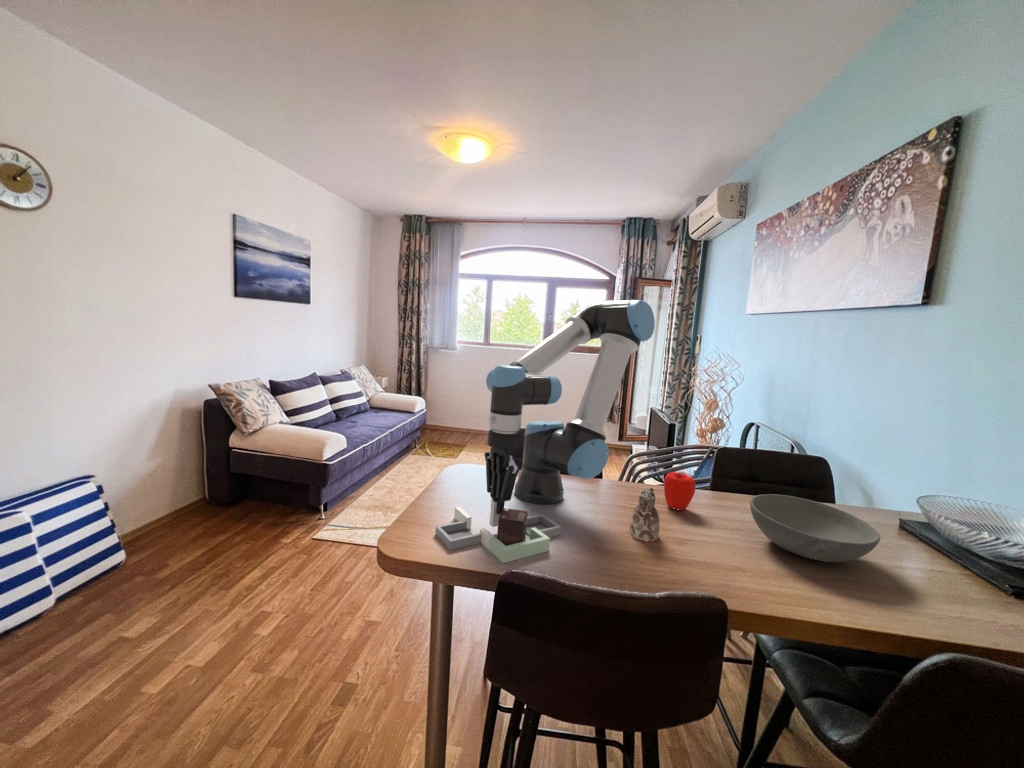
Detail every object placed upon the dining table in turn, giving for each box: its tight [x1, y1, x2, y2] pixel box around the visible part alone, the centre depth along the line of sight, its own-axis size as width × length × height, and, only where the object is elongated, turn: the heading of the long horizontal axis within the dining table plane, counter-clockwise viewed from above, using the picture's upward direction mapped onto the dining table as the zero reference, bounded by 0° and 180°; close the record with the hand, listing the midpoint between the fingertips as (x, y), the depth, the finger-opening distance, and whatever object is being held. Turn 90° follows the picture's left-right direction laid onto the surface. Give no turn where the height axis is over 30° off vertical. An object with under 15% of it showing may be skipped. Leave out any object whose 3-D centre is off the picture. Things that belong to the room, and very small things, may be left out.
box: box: [496, 507, 528, 546], centre depth 96 cm, size 6×6×7 cm
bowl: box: [749, 493, 881, 563], centre depth 105 cm, size 26×26×10 cm
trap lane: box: [434, 505, 562, 564], centre depth 102 cm, size 28×24×3 cm
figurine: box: [629, 487, 660, 541], centre depth 107 cm, size 7×7×12 cm
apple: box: [663, 471, 696, 511], centre depth 127 cm, size 9×9×11 cm
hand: (495, 524), depth 102 cm, fingers closed
